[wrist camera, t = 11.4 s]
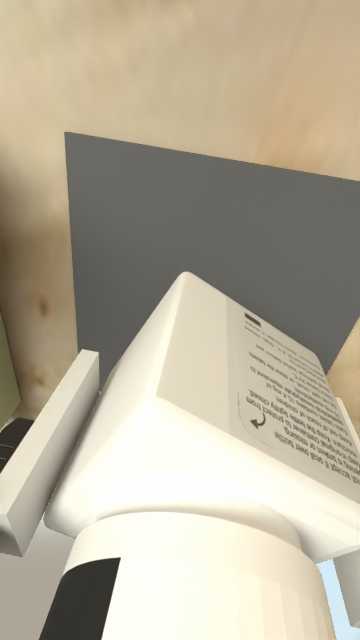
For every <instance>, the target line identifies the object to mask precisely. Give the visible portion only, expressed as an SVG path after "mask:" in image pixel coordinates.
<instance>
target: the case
mask: <svg viewBox="0 0 360 640" xmlns="http://www.w3.org/2000/svg"><path fill="white" fill-rule="evenodd" d="M20 403H21V398H20V394H19V389H18V385H17V380H16V376H15V372H14V367H13V363H12V359H11V354H10V350H9V345H8V341H7V337H6V332H5V328H4V323H3V319H2V315H1V310H0V430H1V428H2V427H3V426H4V424H5V423H6V422H7V420H8V419H9V418H10V416H11V415H12V414H13V412H14V411H15V410H16V408H17V407H18V406H19V404H20Z"/></svg>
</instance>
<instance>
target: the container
mask: <svg viewBox="0 0 360 640" xmlns="http://www.w3.org/2000/svg"><path fill="white" fill-rule="evenodd" d="M43 520H44V523H45V526H46V527H48V528H49V529H52V530H54V531H57V532H59V533H62V534H64V535H67V536H69V537H72V538H74V539H76V540H75V542H74V545H73V547H72V550H71V553H70V556H69V558H68V561H67V564H66V567H65V569H64V572H63V575H62V578H61V580H60V583H59V586H58V589H57V591H56V594H55V597H54V600H53V603H52V605H51V608H50V611H49V613H48V616H47V619H46V622H45V625H44V627H43V630H42V633H41V635H40V638H39V640H336V636H335V631H334V627H333V623H332V618H331V614H330V609H329V605H328V601H327V596H326V592H325V588H324V583H323V579H322V575H321V573H320V571H319V569H318V567H317V566H316V565H315V564H317V563H320V562H323V561H326V560H329V559H332V558H335V557H338V556H341V555H344V554H347V553H350V552H353V551H356V550H359V549H360V454H359V452H358V449H357V447H356V445H355V442H354V440H353V438H352V435H351V433H350V431H349V429H348V426H347V424H346V422H345V419H344V417H343V415H342V412H341V410H340V408H339V405H338V403H337V401H336V399H335V396H334V394H333V392H332V389H331V387H330V385H329V382H328V380H327V378H326V376H325V373H324V371H323V369H322V366H321V364H320V362H319V359H318V357H317V356H316V355H315V354H314V353H313V352H312V351H310V350H308V349H307V348H305V347H304V346H302V345H301V344H299V343H298V342H296V341H295V340H293V339H292V338H290V337H289V336H287V335H286V334H284V333H283V332H281V331H280V330H278V329H276V328H275V327H273V326H272V325H270V324H269V323H267V322H266V321H264V320H263V319H261V318H260V317H258V316H257V315H255V314H254V313H252V312H251V311H249V310H248V309H246V308H244V307H243V306H241V305H240V304H238V303H237V302H235V301H234V300H232V299H231V298H229V297H228V296H226V295H225V294H223V293H222V292H220V291H219V290H217V289H215V288H214V287H212V286H211V285H209V284H208V283H206V282H205V281H203V280H202V279H200V278H199V277H197V276H196V275H194V274H193V273H191V272H188V271H187V272H183V273H182V274H180V275H179V276H178V277H177V279H176V280H175V282H174V283H173V285H172V286H171V287H170V289H169V290H168V292H167V293H166V294H165V296H164V297H163V299H162V300H161V302H160V303H159V304H158V306H157V307H156V309H155V310H154V311H153V313H152V314H151V316H150V317H149V319H148V320H147V321H146V323H145V324H144V326H143V327H142V328H141V330H140V331H139V333H138V334H137V336H136V337H135V338H134V340H133V341H132V343H131V344H130V345H129V347H128V348H127V350H126V351H125V352H124V354H123V355H122V357H121V358H120V360H119V361H118V362H117V364H116V365H115V367H114V368H113V369H112V371H111V372H110V374H109V376H108V379H107V381H106V383H105V385H104V387H103V389H102V391H101V393H100V395H99V398H98V400H97V402H96V404H95V406H94V408H93V410H92V412H91V415H90V417H89V419H88V421H87V423H86V425H85V427H84V429H83V431H82V434H81V436H80V438H79V440H78V442H77V444H76V446H75V448H74V451H73V453H72V455H71V457H70V459H69V461H68V463H67V465H66V467H65V470H64V472H63V474H62V476H61V478H60V480H59V482H58V484H57V486H56V489H55V491H54V493H53V495H52V497H51V499H50V501H49V503H48V506H47V508H46V510H45V514H44V519H43Z"/></svg>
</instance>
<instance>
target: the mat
mask: <svg viewBox="0 0 360 640" xmlns="http://www.w3.org/2000/svg"><path fill="white" fill-rule="evenodd" d="M64 134H65V150H66V166H67V181H68V197H69V213H70V228H71V244H72V260H73V275H74V291H75V307H76V323H77V338H78V354H79V353H80V352H81V350H82V349H84V350H89V351H94V352H99V391H102V389H103V387H104V385H105V383H106V381H107V379H108V376H109V374H110V372H111V371H112V369H113V368H114V367H115V365H116V364H117V362H118V361H119V360H120V358H121V357H122V355H123V354H124V352H125V351H126V350H127V348H128V347H129V345H130V344H131V343H132V341H133V340H134V338H135V337H136V336H137V334H138V333H139V331H140V330H141V328H142V327H143V326H144V324H145V323H146V321H147V320H148V319H149V317H150V316H151V314H152V313H153V311H154V310H155V309H156V307H157V306H158V304H159V303H160V302H161V300H162V299H163V297H164V296H165V294H166V293H167V292H168V290H169V289H170V287H171V286H172V285H173V283H174V282H175V280H176V279H177V277H178V276H179V275H180V274H182V273H183V272H187V271H188V272H191V273H193V274H194V275H196V276H197V277H199V278H200V279H202V280H203V281H205V282H206V283H208V284H209V285H211V286H212V287H214V288H215V289H217V290H219V291H220V292H222V293H223V294H225V295H226V296H228V297H229V298H231V299H232V300H234V301H235V302H237V303H238V304H240V305H241V306H243V307H244V308H246V309H248V310H249V311H251V312H252V313H254V314H255V315H257V316H258V317H260V318H261V319H263V320H264V321H266V322H267V323H269V324H270V325H272V326H273V327H275V328H276V329H278V330H280V331H281V332H283V333H284V334H286V335H287V336H289V337H290V338H292V339H293V340H295V341H296V342H298V343H299V344H301V345H302V346H304V347H305V348H307V349H308V350H310V351H312V352H313V353H314V354H315V355H316V356H317V357H318V359H319V362H320V364H321V366H322V369H323V371H324V373H325V376H326V374H327V373H328V371H329V369H330V367H331V366H332V364H333V362H334V360H335V358H336V357H337V355H338V353H339V351H340V350H341V348H342V346H343V344H344V342H345V341H346V339H347V337H348V335H349V334H350V332H351V330H352V328H353V326H354V325H355V323H356V321H357V319H358V318H359V316H360V181H354V180H348V179H343V178H337V177H331V176H325V175H319V174H313V173H307V172H301V171H295V170H289V169H284V168H278V167H272V166H266V165H260V164H254V163H248V162H242V161H236V160H230V159H225V158H219V157H213V156H207V155H201V154H195V153H189V152H183V151H177V150H171V149H166V148H160V147H154V146H148V145H142V144H136V143H130V142H124V141H118V140H112V139H107V138H101V137H95V136H89V135H83V134H77V133H71V132H64Z"/></svg>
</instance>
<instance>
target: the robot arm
mask: <svg viewBox="0 0 360 640" xmlns="http://www.w3.org/2000/svg"><path fill="white" fill-rule="evenodd" d="M98 397H99V352H94V351H89V350H84V349H82V350H81V352H80V353H79V355H78V356H77V358H76V359H75V361H74V362H73V364H72V365H71V367H70V368H69V370H68V371H67V373H66V374H65V376H64V378H63V379H62V381H61V382H60V384H59V385H58V387H57V388H56V390H55V391H54V393H53V394H52V396H51V397H50V399H49V400H48V402H47V403H46V405H45V406H44V408H43V410H42V411H41V413H40V414H39V416H38V417H37V419H36V420H35V421H33V420H28V419H23V418H17V419H15V420H14V421H13V422H11V423H10V424H9V425H7V426H6V427H5V428H4V429H3V430H2V431H1V433H0V553H5V554H10V555H15V556H20V557H23V556H24V554H25V551H26V550H27V547H28V545H29V543H30V541H31V539H32V537H33V535H34V533H35V531H36V528H37V526H38V524H39V522H40V520H41V518H42V516H43V513H44V512H45V509H46V507H47V505H48V503H49V501H50V499H51V497H52V495H53V492H54V490H55V488H56V486H57V484H58V482H59V480H60V478H61V476H62V473H63V471H64V469H65V467H66V465H67V463H68V461H69V459H70V457H71V454H72V452H73V450H74V448H75V446H76V444H77V442H78V440H79V437H80V435H81V433H82V431H83V429H84V427H85V425H86V423H87V421H88V418H89V416H90V414H91V412H92V410H93V408H94V406H95V404H96V401H97V399H98ZM335 399H336V401H337V403H338V405H339V408H340V410H341V412H342V415H343V417H344V419H345V422H346V424H347V426H348V429H349V431H350V433H351V435H352V438H353V440H354V442H355V445H356V447H357V449H358V452H359V454H360V440H359V438H358V436H357V433H356V431H355V429H354V427H353V425H352V422H351V420H350V418H349V416H348V413H347V411H346V409H345V407H344V405H343V402H342V400H341V398H336V397H335ZM333 561H334V564H335V569H336V572H337V576H338V580H339V584H340V587H341V592H342V595H343V599H344V603H345V607H346V611H347V614H348V618H349V622H350V626H352V627H357V628H360V549H359V550H356V551H353V552H350V553H347V554H344V555H341V556H338V557H335V558H333Z"/></svg>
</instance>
